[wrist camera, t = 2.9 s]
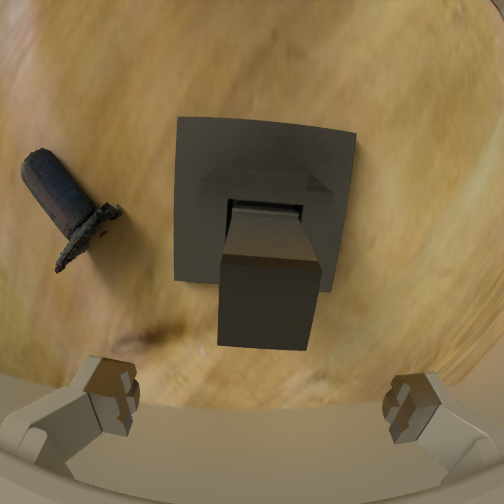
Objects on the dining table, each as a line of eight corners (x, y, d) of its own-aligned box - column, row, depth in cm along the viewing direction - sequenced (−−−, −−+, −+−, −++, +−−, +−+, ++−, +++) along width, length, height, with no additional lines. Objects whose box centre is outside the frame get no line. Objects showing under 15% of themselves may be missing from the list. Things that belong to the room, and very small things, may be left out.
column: (286, 188, 28) (326, 268, 12) (281, 234, 30) (308, 353, 14) (238, 184, 28) (216, 259, 12) (235, 230, 30) (213, 347, 14)
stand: (350, 132, 28) (391, 136, 19) (326, 283, 34) (349, 338, 25) (182, 117, 28) (149, 113, 19) (178, 272, 34) (153, 324, 25)
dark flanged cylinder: (131, 207, 33) (65, 136, 30) (107, 214, 25) (31, 127, 23) (82, 264, 34) (22, 194, 31) (52, 284, 26) (-16, 199, 23)
